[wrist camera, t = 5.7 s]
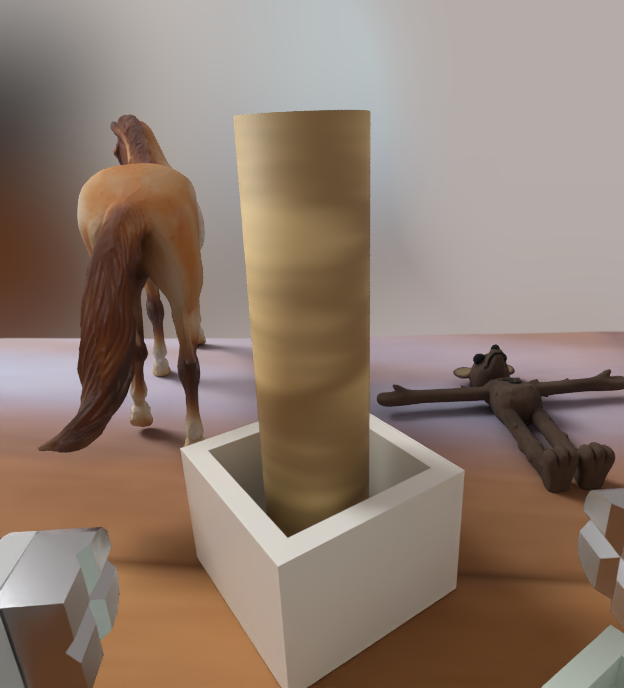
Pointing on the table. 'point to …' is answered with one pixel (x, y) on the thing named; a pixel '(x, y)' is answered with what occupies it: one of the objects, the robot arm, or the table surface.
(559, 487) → the bear figurine
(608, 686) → the tray
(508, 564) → the table surface
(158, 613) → the table surface
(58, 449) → the horse figurine
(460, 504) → the white square box
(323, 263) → the dowel
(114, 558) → the table surface
